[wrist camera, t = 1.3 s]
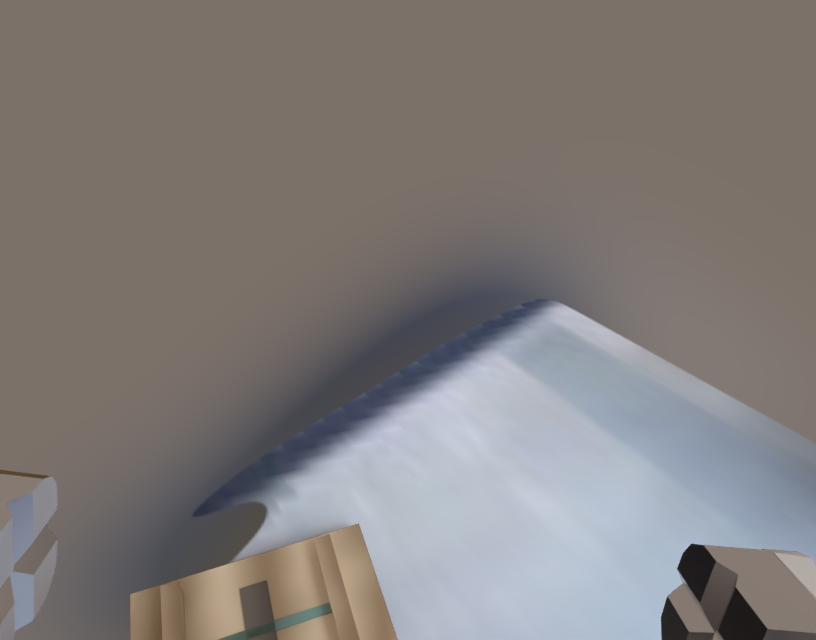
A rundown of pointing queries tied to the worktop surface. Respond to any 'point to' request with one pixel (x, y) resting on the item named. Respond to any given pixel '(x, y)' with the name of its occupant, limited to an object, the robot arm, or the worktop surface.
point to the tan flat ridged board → (273, 597)
